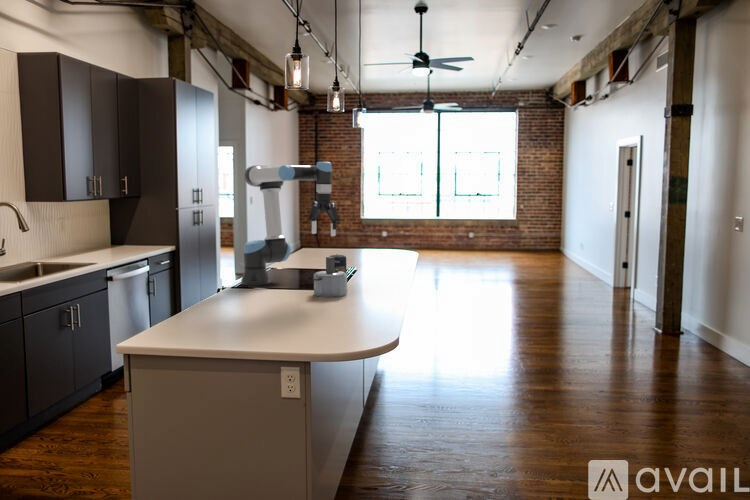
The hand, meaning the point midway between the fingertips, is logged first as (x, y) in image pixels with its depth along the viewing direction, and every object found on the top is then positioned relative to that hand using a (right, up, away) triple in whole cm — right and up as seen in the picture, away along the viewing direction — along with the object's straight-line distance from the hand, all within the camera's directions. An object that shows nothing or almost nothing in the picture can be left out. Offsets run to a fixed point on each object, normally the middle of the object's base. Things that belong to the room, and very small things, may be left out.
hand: (323, 234), depth 306 cm
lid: (+4, -22, -4) cm, 23 cm away
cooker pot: (+4, -30, -3) cm, 30 cm away
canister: (+6, -28, +15) cm, 32 cm away
